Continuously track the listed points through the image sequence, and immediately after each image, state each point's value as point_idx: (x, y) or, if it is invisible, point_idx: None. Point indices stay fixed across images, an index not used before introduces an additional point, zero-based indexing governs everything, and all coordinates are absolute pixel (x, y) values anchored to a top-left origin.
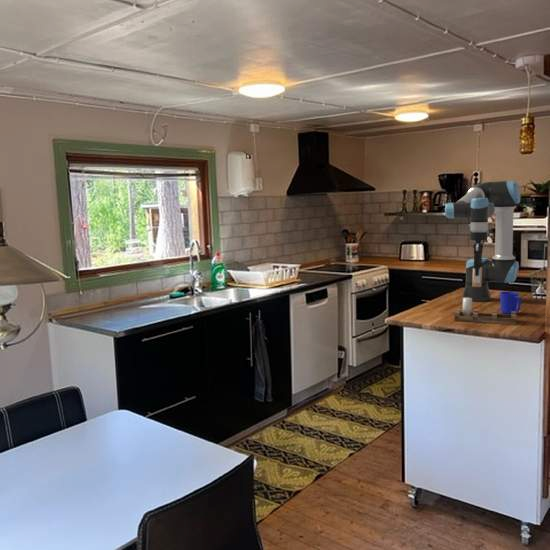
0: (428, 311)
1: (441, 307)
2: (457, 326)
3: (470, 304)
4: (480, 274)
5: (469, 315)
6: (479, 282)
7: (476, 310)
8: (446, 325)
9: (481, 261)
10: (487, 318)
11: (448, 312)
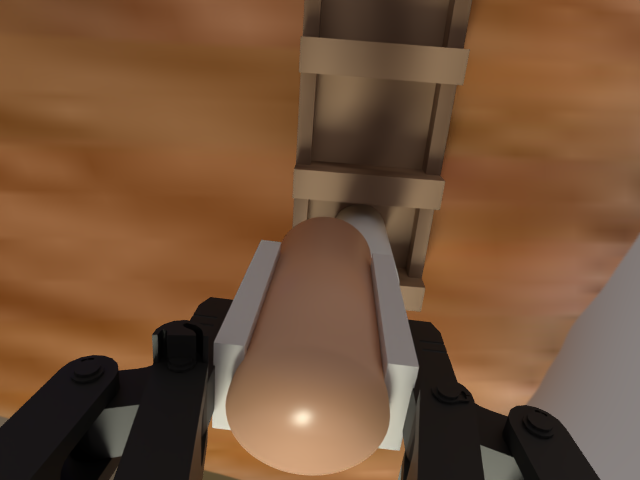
0: None
1: (55, 348)
2: (551, 271)
3: (386, 244)
4: (363, 300)
5: (383, 221)
6: (392, 261)
7: (329, 186)
8: (529, 320)
9: (46, 422)
10: (450, 112)
11: (185, 314)
